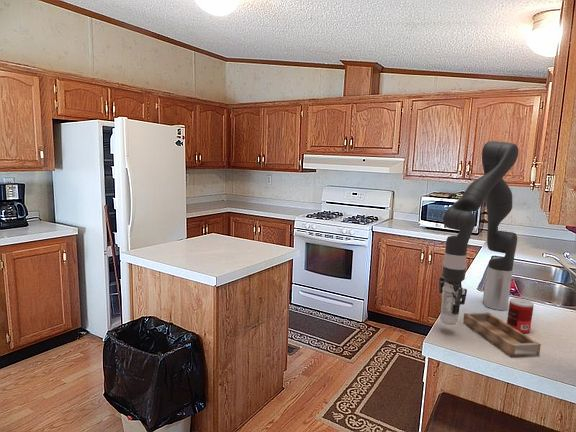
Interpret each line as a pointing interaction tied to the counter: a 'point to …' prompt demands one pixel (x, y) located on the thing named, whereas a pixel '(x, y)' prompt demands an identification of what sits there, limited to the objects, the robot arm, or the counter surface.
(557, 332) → the counter surface
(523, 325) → the canned food
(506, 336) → the wooden tray
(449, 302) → the energy drink can
